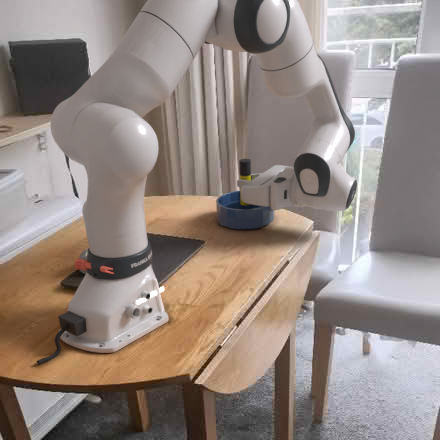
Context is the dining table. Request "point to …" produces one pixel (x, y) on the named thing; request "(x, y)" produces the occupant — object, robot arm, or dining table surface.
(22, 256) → the dining table surface
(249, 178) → the highlighter
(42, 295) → the dining table surface
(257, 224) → the bowl
